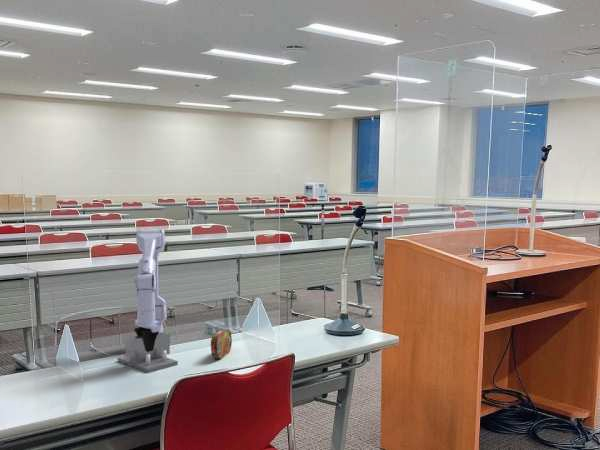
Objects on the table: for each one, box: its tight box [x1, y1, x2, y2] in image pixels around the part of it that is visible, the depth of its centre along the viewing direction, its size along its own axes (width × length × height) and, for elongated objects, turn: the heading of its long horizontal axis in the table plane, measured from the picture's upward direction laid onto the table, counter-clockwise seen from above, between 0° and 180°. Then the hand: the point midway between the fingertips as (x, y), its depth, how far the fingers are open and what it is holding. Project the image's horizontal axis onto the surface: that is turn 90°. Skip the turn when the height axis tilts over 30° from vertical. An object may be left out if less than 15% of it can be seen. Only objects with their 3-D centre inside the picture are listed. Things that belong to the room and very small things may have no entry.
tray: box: [117, 350, 178, 374], centre depth 179 cm, size 19×11×4 cm, turn 48°
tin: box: [210, 328, 233, 360], centre depth 187 cm, size 15×3×8 cm, turn 168°
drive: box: [125, 331, 171, 361], centre depth 179 cm, size 4×14×7 cm, turn 130°
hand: (147, 349), depth 178 cm, fingers closed on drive, 3 cm apart
